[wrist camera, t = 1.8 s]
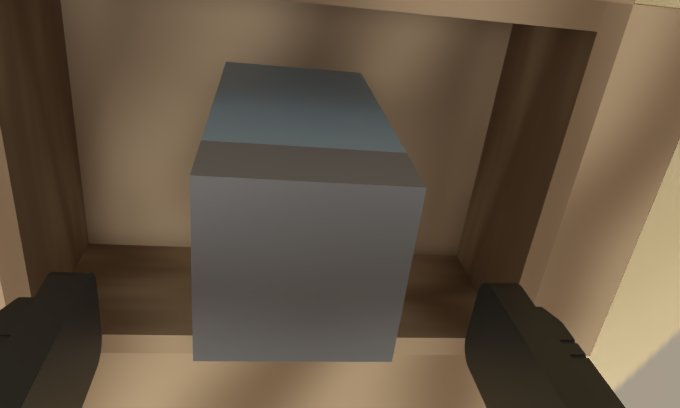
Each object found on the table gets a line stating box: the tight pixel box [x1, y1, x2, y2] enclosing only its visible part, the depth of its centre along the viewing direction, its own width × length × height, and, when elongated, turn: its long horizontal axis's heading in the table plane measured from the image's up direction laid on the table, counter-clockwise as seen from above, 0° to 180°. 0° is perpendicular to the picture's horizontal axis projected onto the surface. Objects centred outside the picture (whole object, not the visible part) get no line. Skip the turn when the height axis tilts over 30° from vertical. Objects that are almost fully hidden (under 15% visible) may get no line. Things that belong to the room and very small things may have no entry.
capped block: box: [190, 62, 426, 362], centre depth 17 cm, size 5×5×10 cm
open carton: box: [0, 0, 680, 408], centre depth 19 cm, size 24×19×6 cm
